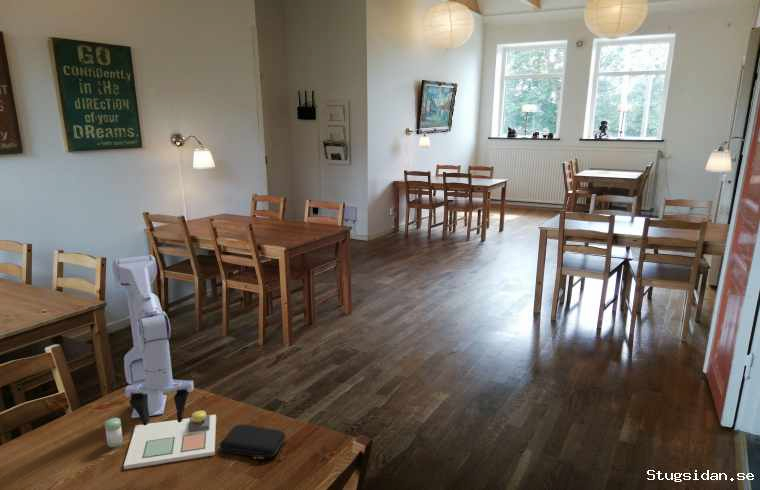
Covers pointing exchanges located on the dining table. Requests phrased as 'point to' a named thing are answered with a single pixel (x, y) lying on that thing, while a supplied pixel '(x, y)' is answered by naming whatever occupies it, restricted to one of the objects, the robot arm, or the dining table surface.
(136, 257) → the robot arm
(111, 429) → the green bulb-shaped piece
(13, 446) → the dining table surface
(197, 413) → the button
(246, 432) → the carrying case or bag
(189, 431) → the colouring board
